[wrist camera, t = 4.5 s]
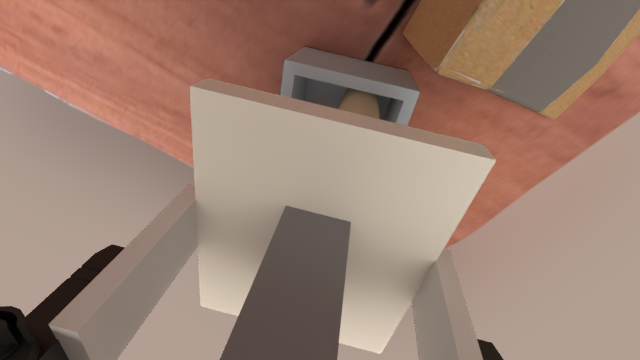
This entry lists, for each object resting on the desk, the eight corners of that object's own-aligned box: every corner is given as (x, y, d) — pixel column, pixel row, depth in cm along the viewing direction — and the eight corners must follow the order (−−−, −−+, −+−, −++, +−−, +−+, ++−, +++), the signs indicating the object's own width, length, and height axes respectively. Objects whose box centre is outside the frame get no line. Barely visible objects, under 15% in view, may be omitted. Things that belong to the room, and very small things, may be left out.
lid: (219, 71, 11) (-22, 183, 4) (475, 133, 11) (646, 356, 4) (218, 274, 18) (119, 448, 11) (380, 316, 17) (384, 523, 11)
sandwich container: (552, 123, 25) (734, 243, 13) (398, 37, 24) (430, 76, 11) (652, 22, 21) (1090, 49, 8) (472, -92, 19) (666, -278, 7)
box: (305, 46, 25) (284, 59, 19) (408, 70, 25) (420, 91, 19) (287, 158, 31) (267, 195, 25) (371, 179, 31) (371, 221, 25)
